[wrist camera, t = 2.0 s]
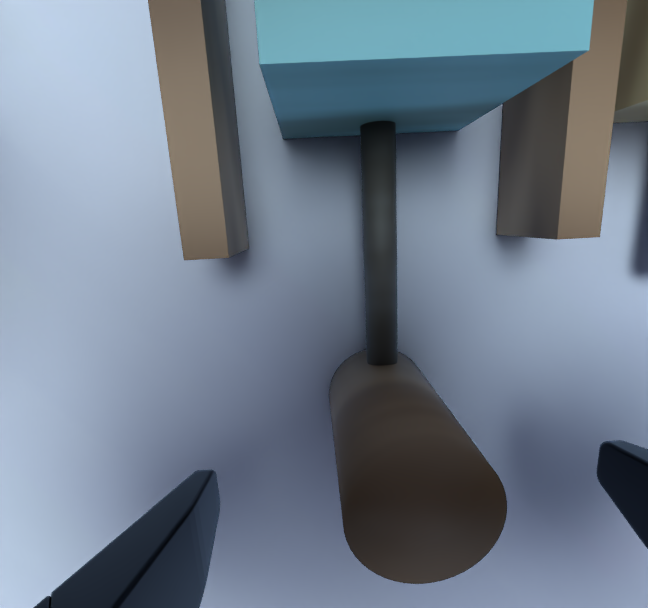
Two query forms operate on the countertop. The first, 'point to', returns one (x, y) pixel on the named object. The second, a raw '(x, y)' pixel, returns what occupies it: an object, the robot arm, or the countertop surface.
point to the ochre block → (633, 66)
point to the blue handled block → (381, 241)
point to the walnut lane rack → (516, 143)
